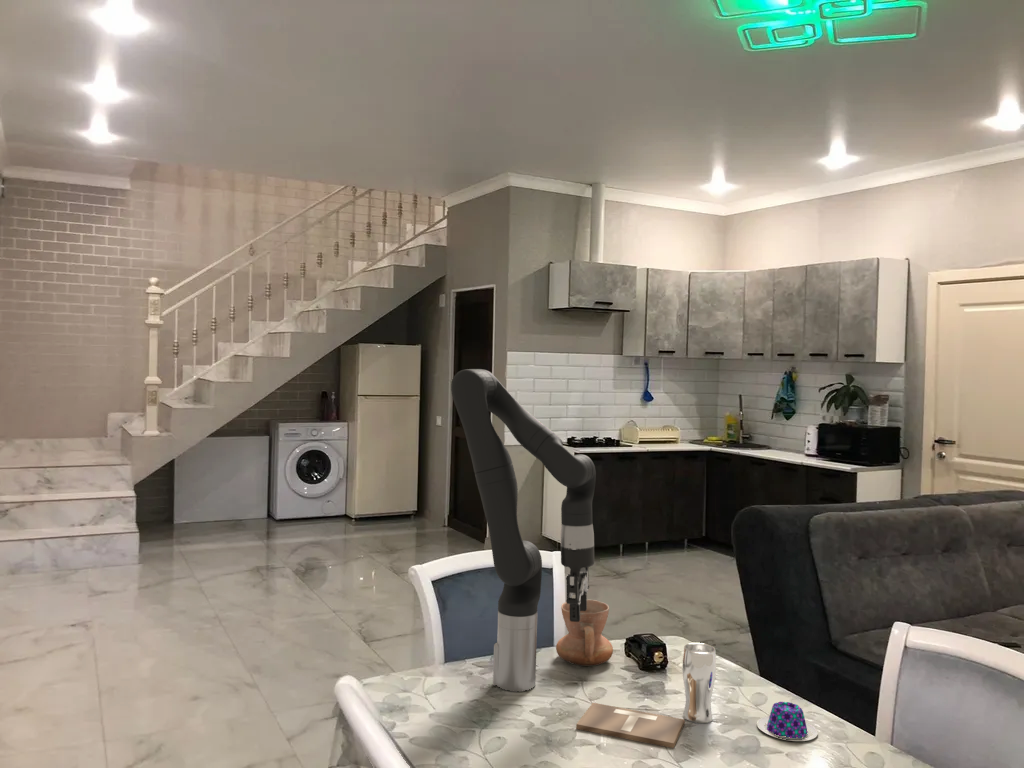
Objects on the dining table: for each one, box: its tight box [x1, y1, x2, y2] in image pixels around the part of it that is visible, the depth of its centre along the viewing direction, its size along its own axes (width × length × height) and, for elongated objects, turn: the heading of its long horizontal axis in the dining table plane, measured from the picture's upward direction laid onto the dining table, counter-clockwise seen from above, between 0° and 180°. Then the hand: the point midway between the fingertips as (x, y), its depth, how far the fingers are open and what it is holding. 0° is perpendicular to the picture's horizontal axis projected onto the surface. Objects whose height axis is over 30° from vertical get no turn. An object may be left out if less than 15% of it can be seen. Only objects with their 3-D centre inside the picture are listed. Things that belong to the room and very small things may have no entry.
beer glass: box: [682, 642, 717, 725], centre depth 171 cm, size 7×7×15 cm
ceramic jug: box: [555, 598, 614, 667], centre depth 203 cm, size 18×14×14 cm
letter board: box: [575, 702, 686, 749], centre depth 166 cm, size 20×12×1 cm, turn 68°
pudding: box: [756, 701, 819, 742], centre depth 166 cm, size 12×12×5 cm
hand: (578, 615), depth 180 cm, fingers open, 8 cm apart
